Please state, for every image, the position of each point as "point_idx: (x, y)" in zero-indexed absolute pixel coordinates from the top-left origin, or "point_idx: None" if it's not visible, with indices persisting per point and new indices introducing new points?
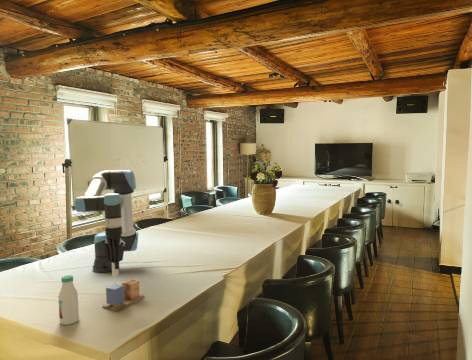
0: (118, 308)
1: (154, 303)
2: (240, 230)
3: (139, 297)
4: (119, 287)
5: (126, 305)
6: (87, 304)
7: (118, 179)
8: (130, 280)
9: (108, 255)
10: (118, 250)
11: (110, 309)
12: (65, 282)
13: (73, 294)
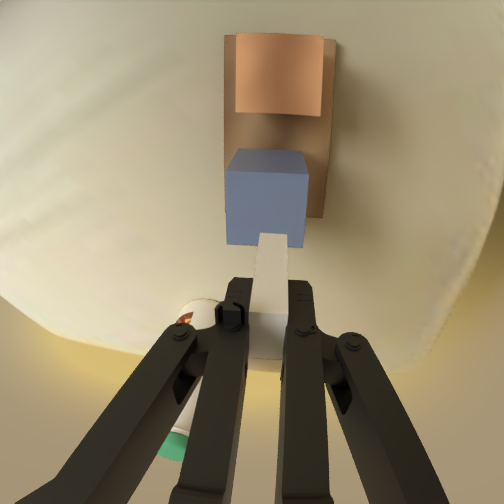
0: (315, 209)
1: (423, 94)
2: None
3: (331, 71)
4: (305, 215)
5: (327, 168)
6: (142, 207)
7: None
8: (261, 54)
9: (183, 407)
10: (323, 461)
11: None
12: None
13: None
